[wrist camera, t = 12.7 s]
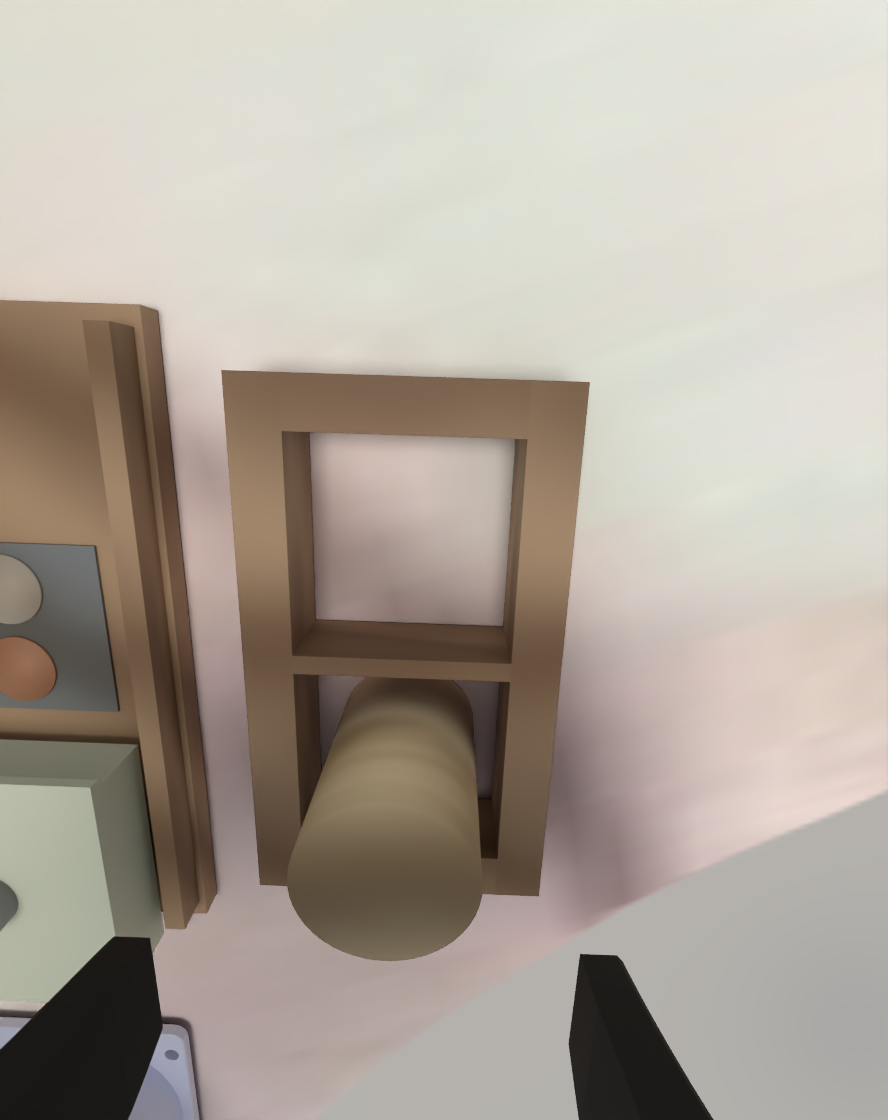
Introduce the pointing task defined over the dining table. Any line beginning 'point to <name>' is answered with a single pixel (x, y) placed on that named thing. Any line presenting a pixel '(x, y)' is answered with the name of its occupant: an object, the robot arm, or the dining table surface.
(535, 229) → the dining table surface
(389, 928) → the oak peg
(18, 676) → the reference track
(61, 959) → the lid
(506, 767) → the socket board
